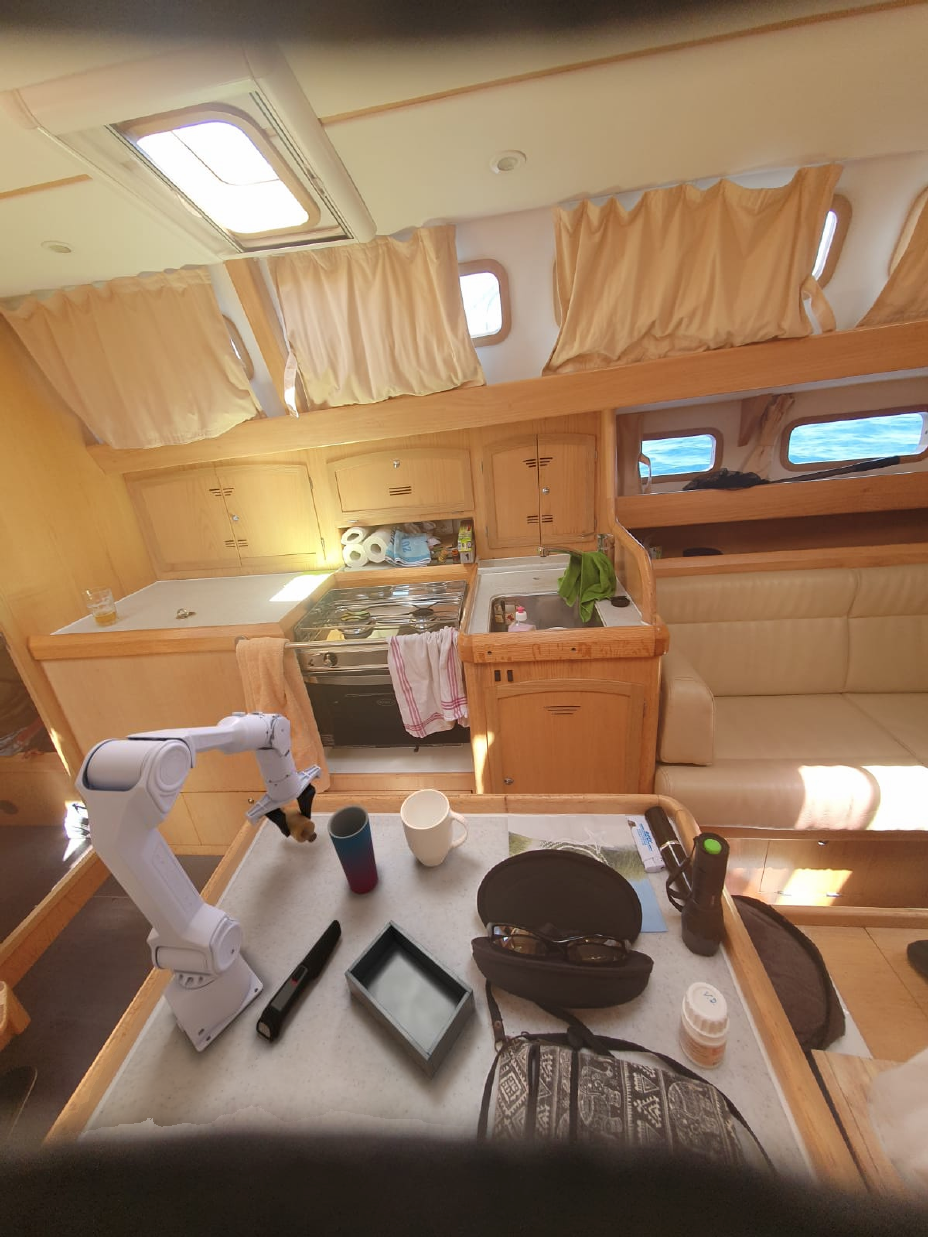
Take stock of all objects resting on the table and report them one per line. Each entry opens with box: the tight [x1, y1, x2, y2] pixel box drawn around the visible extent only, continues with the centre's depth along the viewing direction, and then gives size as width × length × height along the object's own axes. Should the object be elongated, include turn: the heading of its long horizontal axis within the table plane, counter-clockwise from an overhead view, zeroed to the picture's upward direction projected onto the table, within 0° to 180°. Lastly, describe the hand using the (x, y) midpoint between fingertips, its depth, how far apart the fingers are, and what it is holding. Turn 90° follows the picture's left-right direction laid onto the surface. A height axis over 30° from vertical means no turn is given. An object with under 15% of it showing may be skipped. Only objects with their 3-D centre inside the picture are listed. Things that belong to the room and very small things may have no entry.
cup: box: [326, 804, 379, 895], centre depth 78 cm, size 7×7×15 cm
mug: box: [399, 788, 469, 868], centre depth 83 cm, size 12×9×12 cm
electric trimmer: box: [255, 919, 343, 1043], centre depth 67 cm, size 4×16×3 cm, turn 153°
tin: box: [343, 919, 476, 1080], centre depth 63 cm, size 9×16×4 cm, turn 52°
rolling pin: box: [279, 806, 318, 844], centre depth 87 cm, size 4×11×4 cm, turn 52°
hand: (296, 825), depth 87 cm, fingers closed on rolling pin, 4 cm apart
